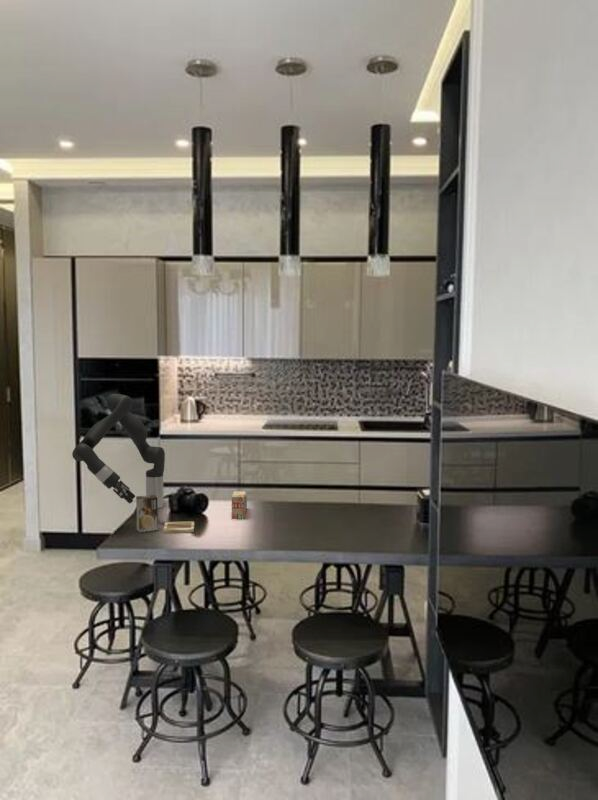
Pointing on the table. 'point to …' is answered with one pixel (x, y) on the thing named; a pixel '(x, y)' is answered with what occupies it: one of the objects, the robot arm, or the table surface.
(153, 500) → the coffee box
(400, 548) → the table surface
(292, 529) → the table surface
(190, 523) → the birch plate
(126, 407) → the robot arm
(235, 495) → the printed cardboard box
